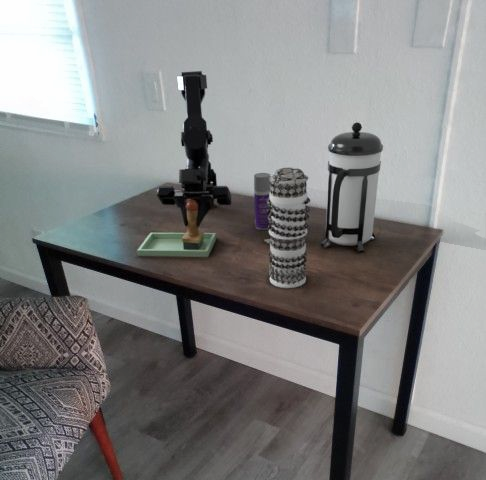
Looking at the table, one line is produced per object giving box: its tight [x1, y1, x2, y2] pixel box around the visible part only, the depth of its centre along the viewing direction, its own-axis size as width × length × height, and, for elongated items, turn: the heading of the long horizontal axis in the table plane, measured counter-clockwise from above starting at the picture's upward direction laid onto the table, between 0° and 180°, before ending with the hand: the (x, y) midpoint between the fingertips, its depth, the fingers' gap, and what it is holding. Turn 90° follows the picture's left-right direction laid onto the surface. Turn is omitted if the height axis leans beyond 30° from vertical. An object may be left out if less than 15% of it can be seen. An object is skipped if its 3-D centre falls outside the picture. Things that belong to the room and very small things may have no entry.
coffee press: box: [320, 121, 384, 254], centre depth 120 cm, size 17×16×30 cm
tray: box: [136, 232, 217, 258], centre depth 131 cm, size 19×12×2 cm, turn 82°
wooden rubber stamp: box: [182, 199, 205, 250], centre depth 127 cm, size 4×6×13 cm
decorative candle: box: [266, 167, 311, 289], centre depth 107 cm, size 9×9×25 cm
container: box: [253, 172, 271, 231], centre depth 138 cm, size 5×5×15 cm
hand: (191, 226), depth 126 cm, fingers closed on wooden rubber stamp, 3 cm apart
